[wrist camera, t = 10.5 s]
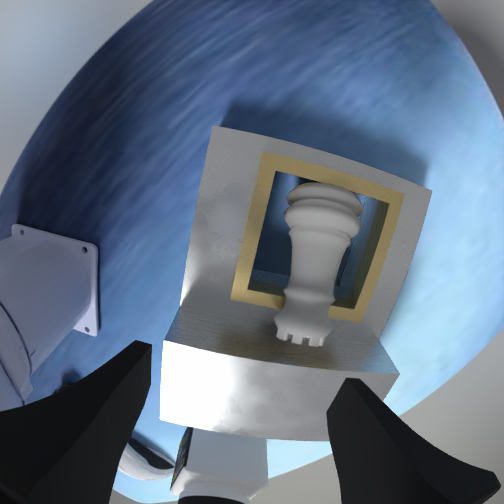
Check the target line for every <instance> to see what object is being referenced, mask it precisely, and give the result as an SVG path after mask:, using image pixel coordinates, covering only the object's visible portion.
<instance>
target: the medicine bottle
mask: <svg viewBox="0 0 504 504" xmlns="http://www.w3.org/2000/svg"><path fill="white" fill-rule="evenodd" d="M266 486H268V465H267V442H266V438H258V437H249V436H241V435H234V434H227V433H221V432H215V431H210V430H205V429H200V428H195V427H190V426H188V427H187V429H186V431H185V434H184V436H183V438H182V440H181V442H180V446H179V450H178V455H177V460H176V464H175V469H174V474H173V478H172V483H171V488H170V493H171V494H173V495H176V496H179V500H178V504H250V499H252V498H253V497H254V496H255V495H257V494H258V493H259V492H260V491H261V490H263V489H264V488H265V487H266Z"/></svg>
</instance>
